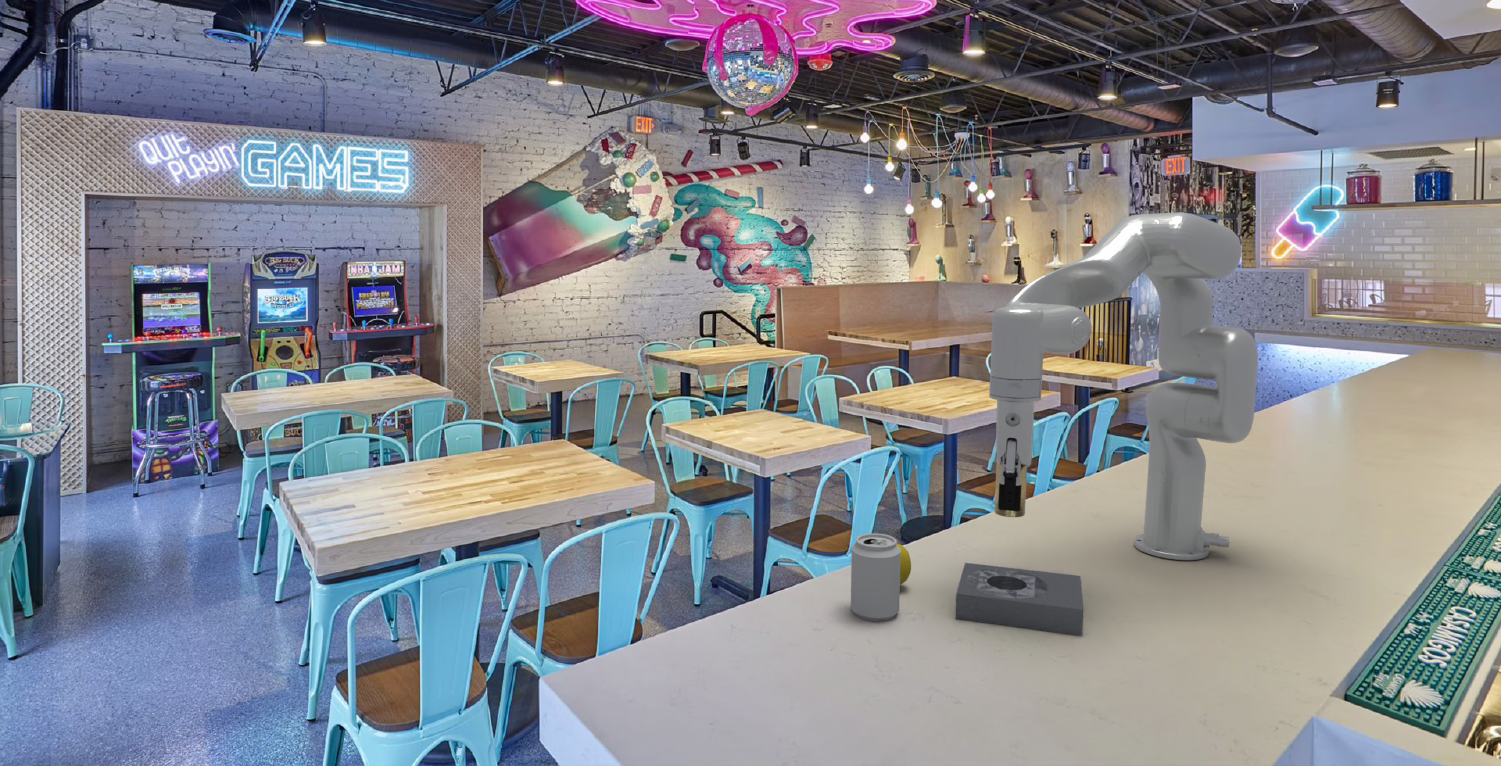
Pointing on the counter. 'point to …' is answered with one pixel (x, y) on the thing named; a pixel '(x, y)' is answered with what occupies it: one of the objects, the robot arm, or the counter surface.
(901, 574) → the lemon
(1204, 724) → the counter surface
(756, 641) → the counter surface
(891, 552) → the can
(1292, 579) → the counter surface
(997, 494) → the cylinder
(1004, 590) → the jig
